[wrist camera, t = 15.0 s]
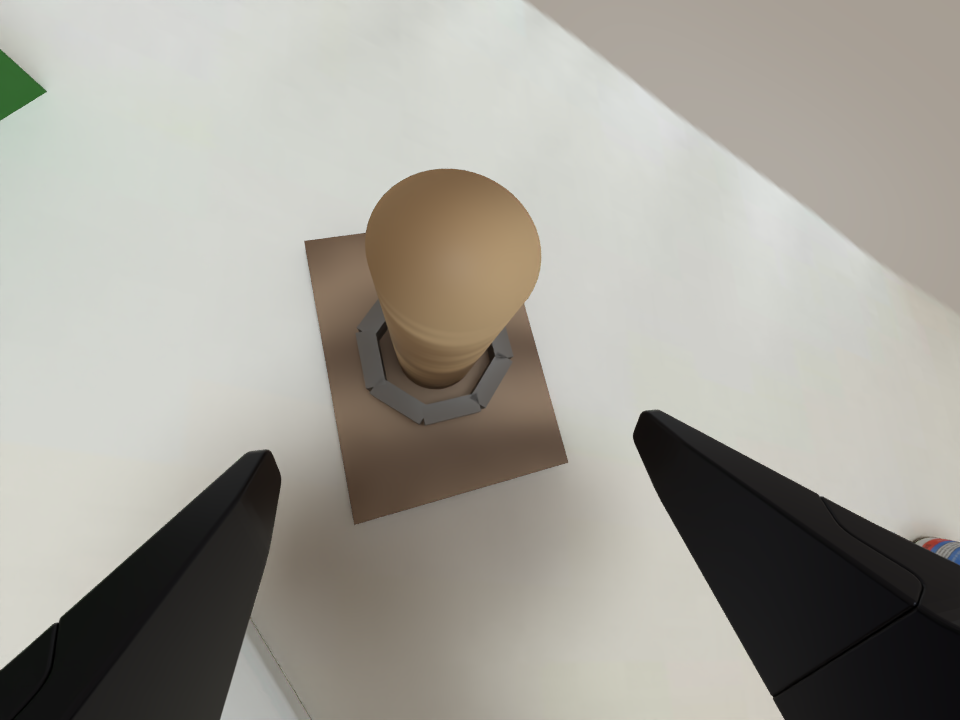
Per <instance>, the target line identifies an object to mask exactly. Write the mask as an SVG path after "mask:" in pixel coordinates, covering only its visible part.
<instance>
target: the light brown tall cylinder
mask: <svg viewBox="0 0 960 720" xmlns="http://www.w3.org/2000/svg"><path fill="white" fill-rule="evenodd" d="M365 251H366V258H367V263H368V267H369V270H370V273H371V276H372V279H373V283H374V286H375V289H376V292H377V295H378V298H379V302H380V305H381V308H382V311H383V314H384V317H385V321H386V324H387V327H388V330H389V333H390V337H391V340H392V343H393V346H394V349H395V352H396V356H397V359H398V362H399V365H400V367H401V369H402V371H403V372H404V374H405V375H406V376H407V377H408V378H409V379H410V380H411V381H412V382H414V383H415V384H417V385H419V386H421V387H424V388H428V389H444V388H448V387H450V386H453V385H455V384H456V383H458V382H459V381H461V380H462V379H463V378H464V377H465V375H466V374H467V373H468V372H469V370H470V369H471V368H472V367H473V365H474V364H475V363H476V362H477V360H478V359H479V358H480V357H481V356H482V354H483V353H484V352H485V351H486V349H487V348H488V347H489V346H490V344H491V343H492V342H493V341H494V339H495V338H496V337H497V336H498V335H499V333H500V332H501V331H502V330H503V328H504V327H505V326H506V325H507V323H508V322H509V321H510V320H511V318H512V317H513V316H514V315H515V314H516V312H517V311H518V310H519V309H520V307H521V306H522V305H523V304H524V302H525V301H526V300H527V299H528V297H529V296H530V294H531V292H532V291H533V289H534V287H535V284H536V282H537V279H538V276H539V272H540V266H541V246H540V240H539V236H538V233H537V230H536V227H535V225H534V223H533V221H532V219H531V217H530V215H529V214H528V212H527V210H526V209H525V208H524V206H523V205H522V204H521V203H520V201H519V200H518V199H517V198H516V197H515V196H514V195H513V194H512V193H510V192H509V191H508V190H507V189H505V188H504V187H503V186H501V185H499V184H498V183H496V182H495V181H493V180H491V179H489V178H487V177H485V176H482V175H479V174H476V173H473V172H469V171H465V170H458V169H435V170H429V171H424V172H420V173H417V174H415V175H412V176H410V177H408V178H406V179H404V180H402V181H400V182H399V183H397V184H396V185H394V186H393V187H392V188H391V189H390V190H389V191H387V192H386V193H385V194H384V195H383V197H382V198H381V199H380V200H379V202H378V203H377V205H376V206H375V208H374V210H373V212H372V214H371V216H370V219H369V221H368V225H367V230H366V237H365Z"/></svg>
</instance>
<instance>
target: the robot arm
mask: <svg viewBox="0 0 960 720" xmlns="http://www.w3.org/2000/svg"><path fill="white" fill-rule="evenodd" d="M633 440H634V443H635V445H636V448H637V450H638V452H639V454H640V457H641V459H642V461H643V463H644V466H645V468H646V470H647V472H648V475H649V477H650V479H651V481H652V484H653V486H654V488H655V490H656V492H657V494H658V496H659V498H660V500H661V502H662V504H663V505H664V507H665V509H666V511H667V512H668V514H669V516H670V518H671V520H672V521H673V523H674V525H675V527H676V528H677V530H678V532H679V534H680V535H681V537H682V539H683V541H684V542H685V544H686V546H687V548H688V550H689V551H690V553H691V555H692V557H693V558H694V560H695V562H696V564H697V565H698V567H699V569H700V571H701V572H702V574H703V576H704V578H705V580H706V581H707V583H708V585H709V587H710V588H711V590H712V592H713V594H714V595H715V597H716V599H717V601H718V602H719V604H720V606H721V608H722V610H723V611H724V613H725V615H726V617H727V618H728V620H729V622H730V624H731V625H732V627H733V629H734V631H735V632H736V634H737V636H738V638H739V640H740V641H741V643H742V645H743V647H744V648H745V650H746V652H747V654H748V655H749V657H750V659H751V661H752V662H753V664H754V666H755V668H756V670H757V671H758V673H759V675H760V677H761V678H762V680H763V682H764V684H765V685H766V687H767V689H768V691H769V692H770V694H771V696H773V700H774V702H775V704H776V705H777V707H778V709H779V711H780V712H781V714H782V716H783V718H784V719H785V720H960V565H959V564H957V563H955V562H953V561H951V560H949V559H947V558H944V557H942V556H940V555H938V554H936V553H934V552H932V551H930V550H928V549H926V548H924V547H921V546H919V545H917V544H915V543H913V542H911V541H909V540H907V539H905V538H903V537H901V536H899V535H897V534H895V533H893V532H890V531H888V530H886V529H884V528H882V527H880V526H878V525H876V524H874V523H872V522H870V521H868V520H866V519H864V518H863V517H861V516H859V515H857V514H855V513H853V512H851V511H849V510H847V509H845V508H843V507H841V506H839V505H838V504H836V503H834V502H832V501H830V500H828V499H826V498H824V497H822V496H819V495H818V494H817V493H815V492H813V491H811V490H809V489H807V488H805V487H804V486H802V485H800V484H798V483H796V482H794V481H792V480H790V479H789V478H787V477H785V476H783V475H781V474H779V473H777V472H775V471H773V470H772V469H770V468H768V467H766V466H764V465H762V464H760V463H758V462H756V461H755V460H753V459H751V458H749V457H747V456H745V455H743V454H741V453H740V452H738V451H736V450H734V449H732V448H730V447H728V446H726V445H724V444H723V443H721V442H719V441H717V440H715V439H713V438H711V437H709V436H708V435H706V434H704V433H702V432H700V431H698V430H696V429H694V428H692V427H691V426H689V425H687V424H685V423H683V422H681V421H679V420H677V419H675V418H674V417H672V416H670V415H668V414H666V413H664V412H662V411H660V410H647V411H643V412H642V413H641V414H640V417H639V419H638V422H637V425H636V427H635V430H634V433H633ZM280 487H281V474H280V472H279V469H278V467H277V464H276V462H275V459H274V457H273V454H272V453H271V451H269V450H257V451H250V452H247V453H246V454H244V455H243V456H242V457H241V458H240V459H239V460H238V461H237V462H235V463H234V464H233V465H232V466H231V467H230V468H229V469H228V470H226V471H225V472H224V473H223V474H222V475H221V476H220V477H219V478H217V479H216V480H215V481H214V482H213V483H212V484H211V485H209V486H208V487H207V488H206V489H205V490H204V491H203V492H202V493H200V494H199V495H198V496H197V497H196V498H195V499H194V500H193V501H191V502H190V503H189V504H188V505H187V506H186V507H185V508H184V509H182V510H181V511H180V512H179V513H178V514H177V515H176V516H175V517H173V518H172V519H171V520H170V521H169V522H168V523H167V524H166V525H164V526H163V527H162V528H161V529H160V530H159V531H158V532H157V533H155V534H154V535H153V536H152V537H151V538H150V539H149V540H148V541H146V542H145V543H144V544H143V545H142V546H141V547H140V548H138V549H137V550H136V551H135V552H134V553H133V554H132V555H131V556H129V557H128V558H127V559H126V560H125V561H124V562H123V563H122V564H120V565H119V566H118V567H117V568H116V569H115V570H114V571H113V572H111V573H110V574H109V575H108V576H107V577H106V578H105V579H104V580H102V581H101V582H100V583H99V584H98V585H97V586H96V587H95V588H93V589H92V590H91V591H90V592H89V593H88V594H87V595H86V596H84V597H83V598H82V599H81V600H80V601H79V602H78V603H76V604H75V605H74V606H73V607H72V608H71V609H70V610H69V611H67V612H66V613H65V614H64V615H63V616H62V617H61V618H60V620H59V623H54V624H53V625H51V626H50V627H49V628H48V629H47V630H46V631H45V632H44V633H42V634H41V635H40V636H39V637H38V638H37V639H36V640H35V641H33V642H32V643H31V644H30V645H29V646H28V647H27V648H26V649H24V650H23V651H22V652H21V653H20V654H19V655H17V656H16V657H15V658H14V659H13V660H12V661H11V662H9V663H8V664H7V665H6V666H5V667H4V668H2V669H1V670H0V720H220V719H221V715H222V712H223V708H224V705H225V701H226V698H227V695H228V691H229V688H230V684H231V681H232V678H233V674H234V671H235V667H236V664H237V660H238V657H239V654H240V650H241V647H242V643H243V640H244V637H245V633H246V630H247V626H248V623H249V620H250V616H251V613H252V609H253V606H254V602H255V599H256V596H257V592H258V589H259V585H260V582H261V579H262V575H263V572H264V568H265V565H266V561H267V557H268V554H269V549H270V544H271V538H272V533H273V527H274V521H275V515H276V510H277V504H278V498H279V493H280Z"/></svg>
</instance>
